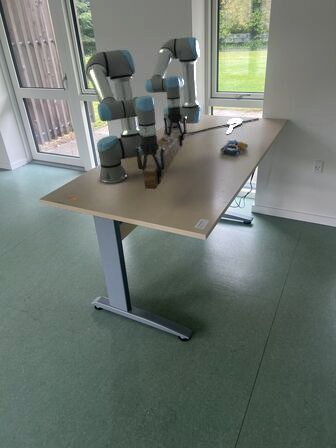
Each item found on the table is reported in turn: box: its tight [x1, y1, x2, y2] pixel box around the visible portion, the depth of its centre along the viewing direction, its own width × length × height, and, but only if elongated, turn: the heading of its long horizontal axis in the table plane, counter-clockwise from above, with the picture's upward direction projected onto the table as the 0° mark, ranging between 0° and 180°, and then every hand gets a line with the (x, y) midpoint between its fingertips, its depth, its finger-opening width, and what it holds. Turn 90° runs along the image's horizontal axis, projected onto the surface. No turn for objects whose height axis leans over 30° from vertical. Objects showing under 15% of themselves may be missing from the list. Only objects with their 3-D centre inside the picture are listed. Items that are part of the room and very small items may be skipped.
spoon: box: [226, 117, 243, 135], centre depth 260 cm, size 35×11×2 cm, turn 159°
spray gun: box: [220, 139, 249, 156], centre depth 214 cm, size 21×4×15 cm
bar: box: [142, 130, 184, 190], centre depth 178 cm, size 64×5×9 cm, turn 167°
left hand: (153, 182), depth 158 cm, fingers closed on bar, 5 cm apart
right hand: (176, 145), depth 202 cm, fingers closed on bar, 5 cm apart
